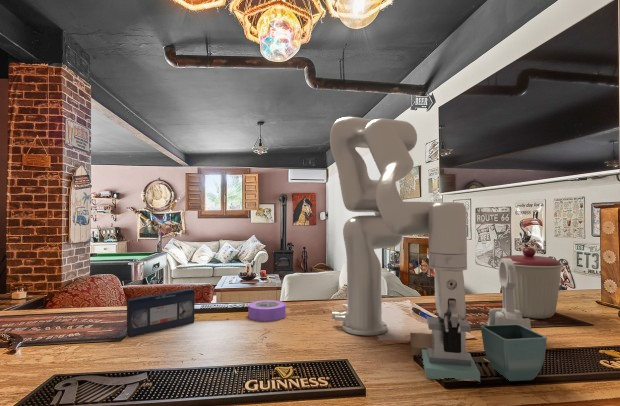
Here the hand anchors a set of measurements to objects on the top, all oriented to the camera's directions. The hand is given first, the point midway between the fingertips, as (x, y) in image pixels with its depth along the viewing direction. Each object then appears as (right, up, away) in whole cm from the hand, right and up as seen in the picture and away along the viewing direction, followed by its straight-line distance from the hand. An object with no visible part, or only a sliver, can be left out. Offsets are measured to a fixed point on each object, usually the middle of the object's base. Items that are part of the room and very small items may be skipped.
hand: (448, 343), depth 78 cm
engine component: (+22, -6, +19) cm, 30 cm away
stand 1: (0, -6, +11) cm, 12 cm away
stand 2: (0, -6, 0) cm, 6 cm away
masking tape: (-43, -7, +40) cm, 59 cm away
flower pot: (+12, -6, -3) cm, 13 cm away
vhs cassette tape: (-71, -7, +28) cm, 76 cm away
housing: (0, -4, 0) cm, 4 cm away
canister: (+40, -6, +39) cm, 57 cm away
